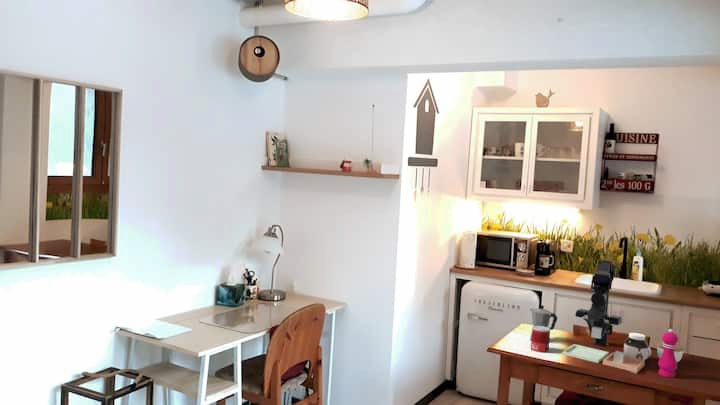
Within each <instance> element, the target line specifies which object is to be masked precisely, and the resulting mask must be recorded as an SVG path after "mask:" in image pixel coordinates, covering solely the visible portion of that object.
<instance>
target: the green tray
mask: <svg viewBox="0 0 720 405" xmlns="http://www.w3.org/2000/svg"><path fill="white" fill-rule="evenodd" d="M561 354H562V355H564V356H569V357H572V358H577V359H580V360H583V361H588V362H592V363H596V364H599V363H600V362H601V361H603V360H604V359H605V358H606V357H607V356H609V355H610V353H609V351H605V350H600V349H596V348H593V347H590V346H589V347H588V346H586V345H585V346H584V345H580V344H572V345H570V346H569V347H567V348H566V349H564V350H563V351H562V353H561Z"/></svg>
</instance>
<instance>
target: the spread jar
mask: <svg viewBox="0 0 720 405" xmlns="http://www.w3.org/2000/svg"><path fill="white" fill-rule="evenodd" d="M623 352H624V353H626V356H628V357H633V358H637V359H641V360H645V361H646V360H647V359H648V358H650V357H651V355H652V349H651V347H650V346H649V344H648V342H647V340H646V335H645V334H642V333H638V332H630V333H628V337H627V338H626V339H625V341H624V344H623Z"/></svg>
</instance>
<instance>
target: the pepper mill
mask: <svg viewBox="0 0 720 405" xmlns="http://www.w3.org/2000/svg"><path fill="white" fill-rule="evenodd" d="M661 337H662V338H661V340H662V342H664V343H663V347H664V350H663V354H662V356H661V357H660V358H659V360H658V362H657V364H658V367H659V369H658V374H659V375H660V376H662V377H665V378H675V377H676V376H675V375H676V372H675V371H676V369H678V362H676V359H675V355H674V350H675V348H676V345H675V344H678V342H679V338H678V336H677V334H676V333H674V330H673V329H672V328H669V329H668V331H667V332H664V333H663V334H662V336H661Z"/></svg>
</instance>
